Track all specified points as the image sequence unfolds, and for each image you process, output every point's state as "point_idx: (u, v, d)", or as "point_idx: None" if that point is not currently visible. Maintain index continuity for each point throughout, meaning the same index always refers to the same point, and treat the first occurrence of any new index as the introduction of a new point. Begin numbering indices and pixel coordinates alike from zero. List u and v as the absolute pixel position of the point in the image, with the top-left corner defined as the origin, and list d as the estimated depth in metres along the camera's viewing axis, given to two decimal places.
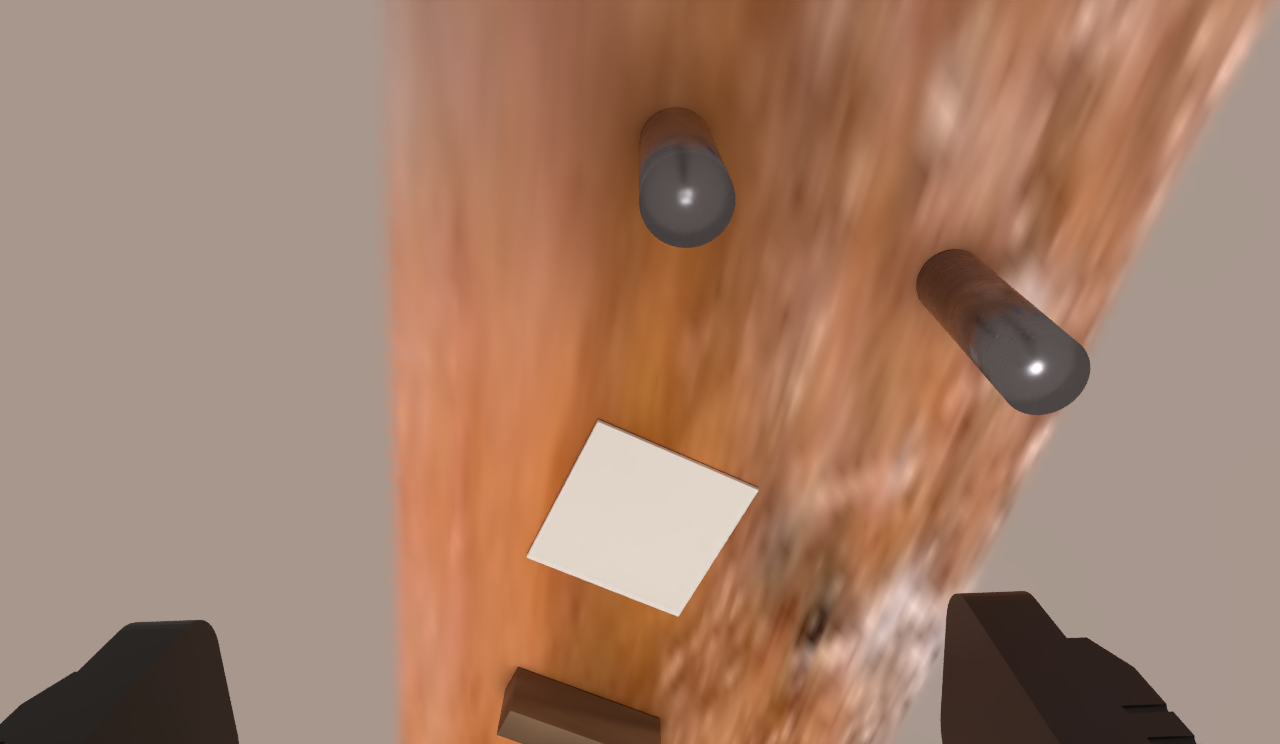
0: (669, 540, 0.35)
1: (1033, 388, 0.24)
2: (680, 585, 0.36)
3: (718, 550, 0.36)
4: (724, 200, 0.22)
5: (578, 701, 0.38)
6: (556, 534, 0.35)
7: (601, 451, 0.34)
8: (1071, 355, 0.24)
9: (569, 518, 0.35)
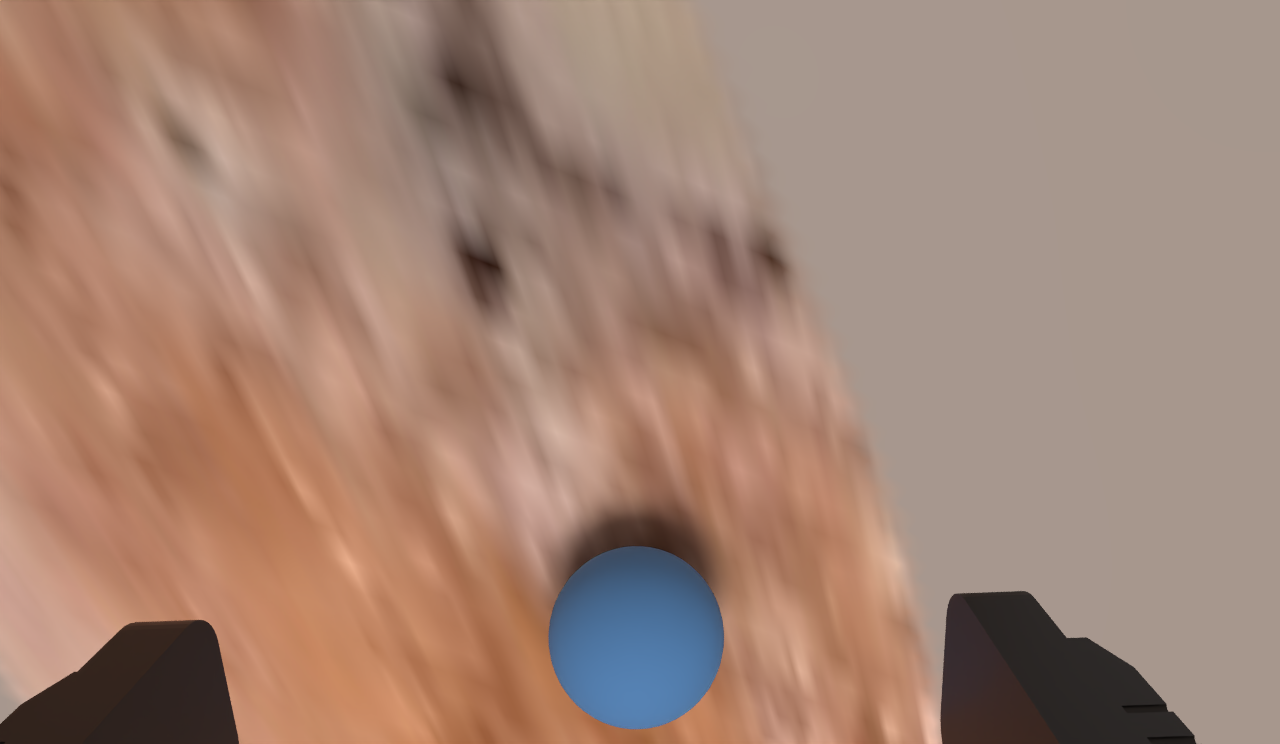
0: None
1: None
2: None
3: None
4: None
5: None
6: None
7: None
8: None
9: None
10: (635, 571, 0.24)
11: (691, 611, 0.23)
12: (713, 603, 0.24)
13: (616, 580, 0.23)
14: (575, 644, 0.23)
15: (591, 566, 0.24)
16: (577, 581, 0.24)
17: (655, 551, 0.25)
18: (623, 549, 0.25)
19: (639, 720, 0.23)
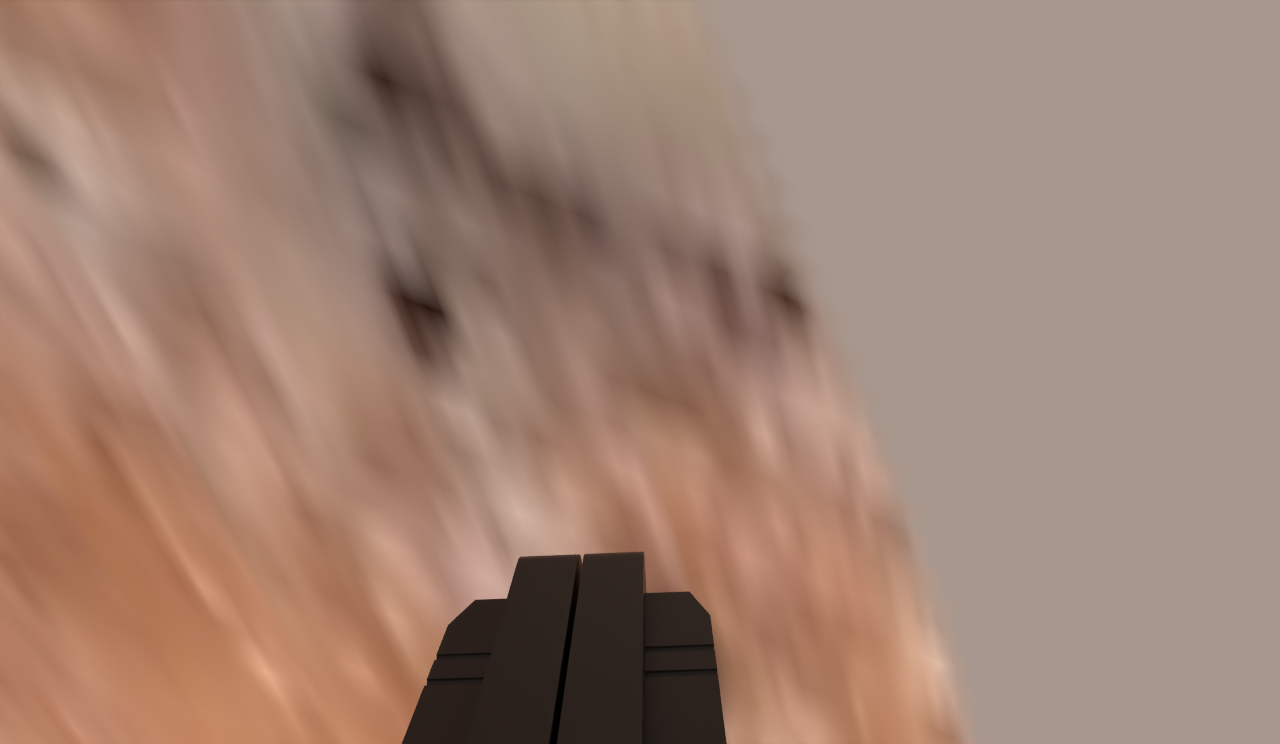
0: None
1: None
2: None
3: None
4: None
5: None
6: None
7: None
8: None
9: None
10: None
11: None
12: None
13: None
14: None
15: None
16: None
17: None
18: None
19: None
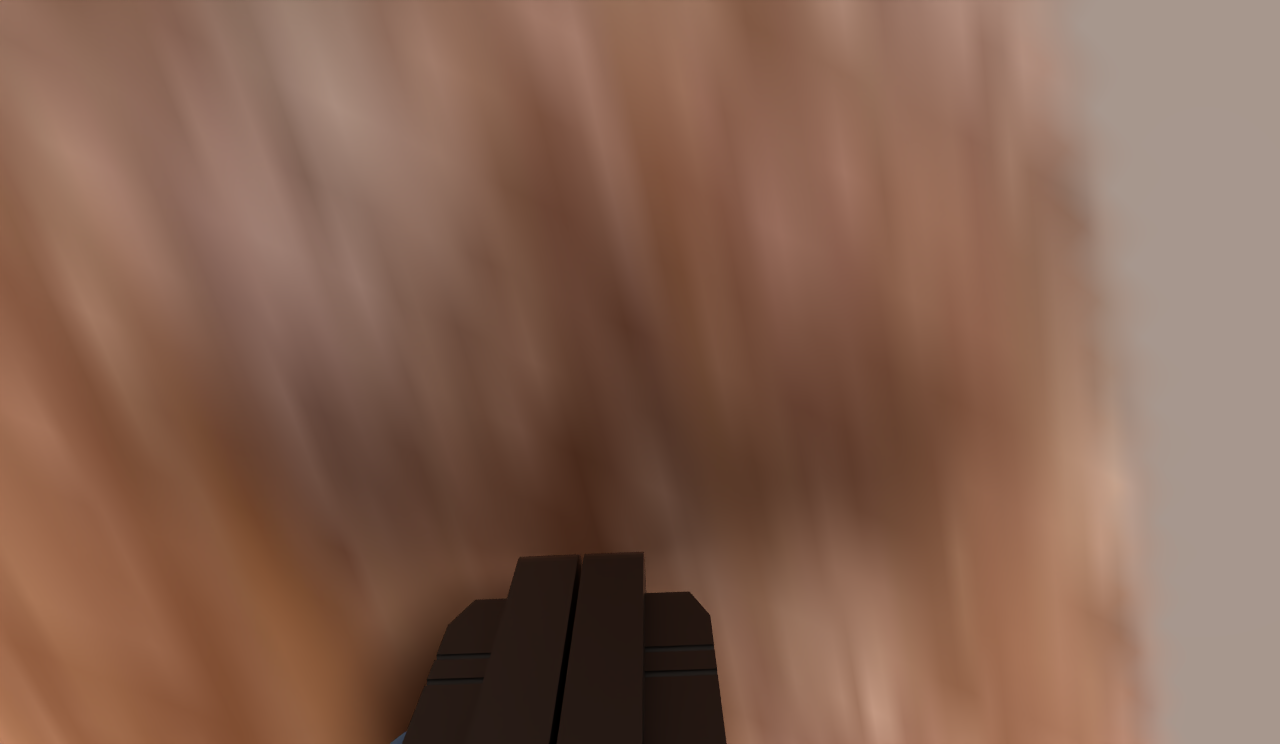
0: None
1: None
2: None
3: None
4: None
5: None
6: None
7: None
8: None
9: None
10: None
11: None
12: None
13: None
14: None
15: None
16: None
17: None
18: None
19: None
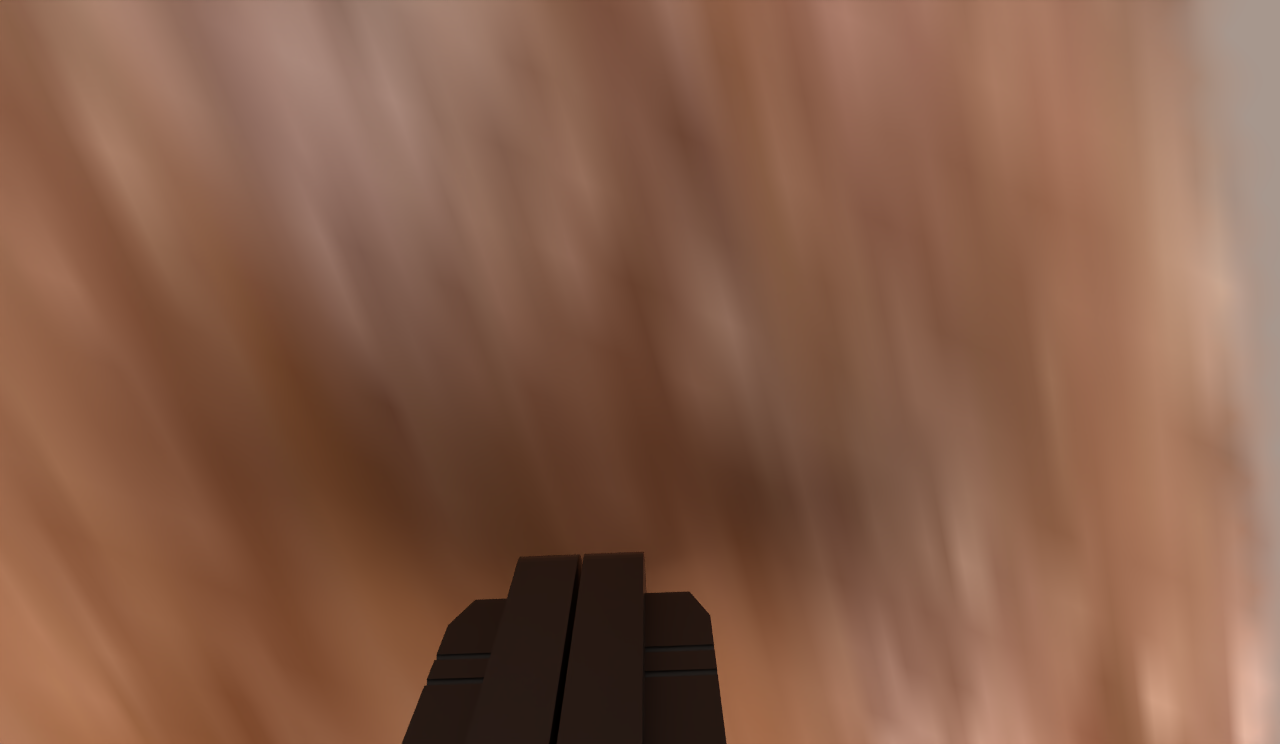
0: None
1: None
2: None
3: None
4: None
5: None
6: None
7: None
8: None
9: None
10: None
11: None
12: None
13: None
14: None
15: None
16: None
17: None
18: None
19: None
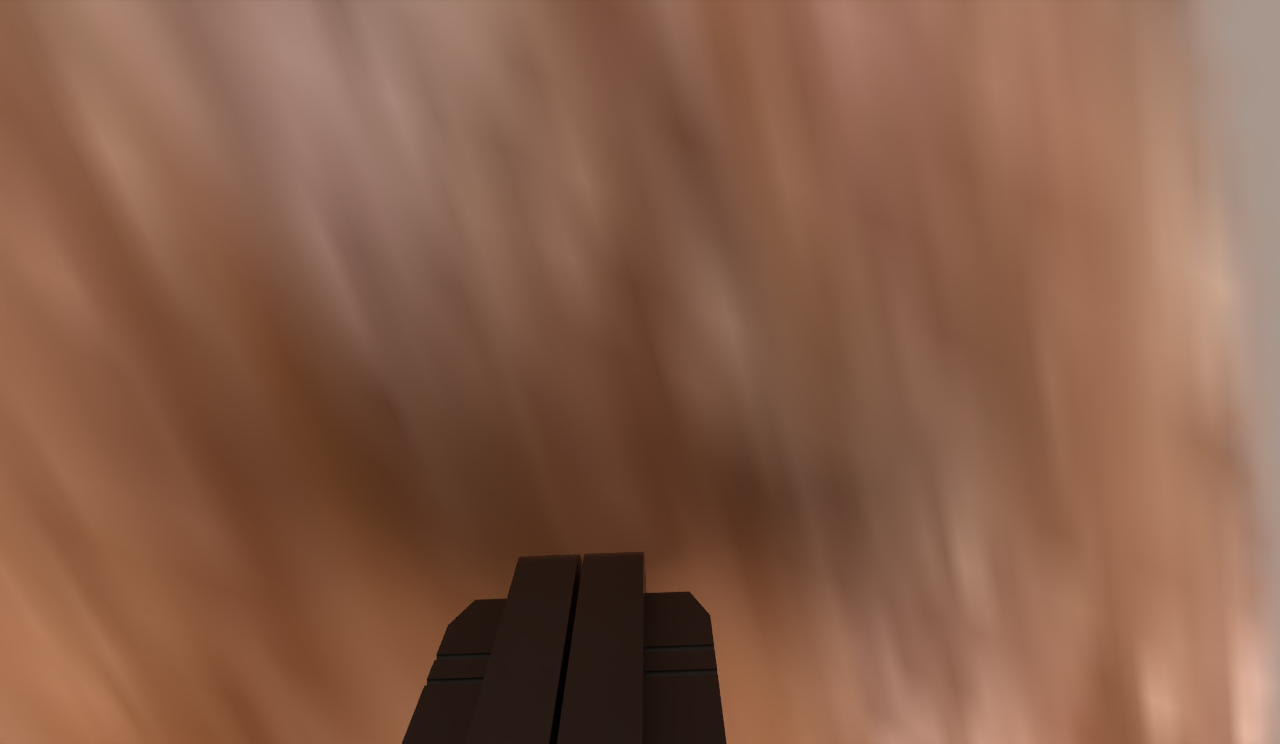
0: None
1: None
2: None
3: None
4: None
5: None
6: None
7: None
8: None
9: None
10: None
11: None
12: None
13: None
14: None
15: None
16: None
17: None
18: None
19: None
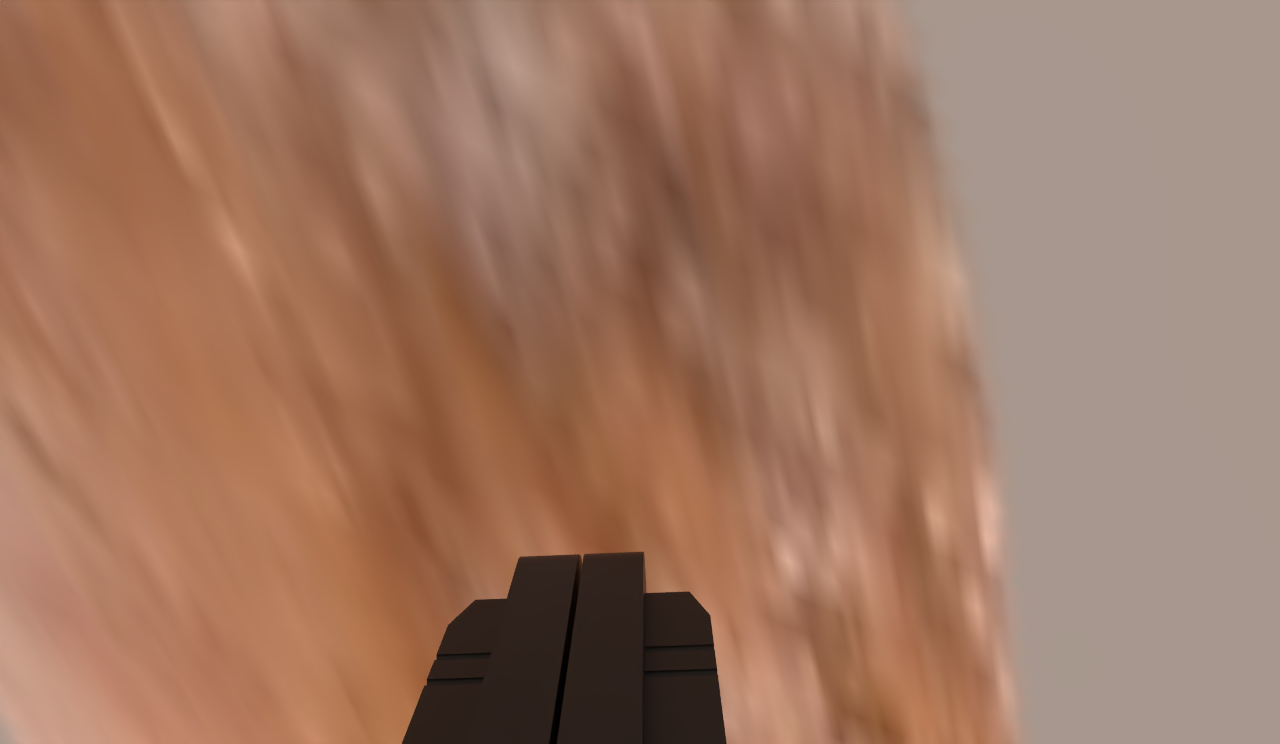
0: None
1: None
2: None
3: None
4: None
5: None
6: None
7: None
8: None
9: None
10: None
11: None
12: None
13: None
14: None
15: None
16: None
17: None
18: None
19: None
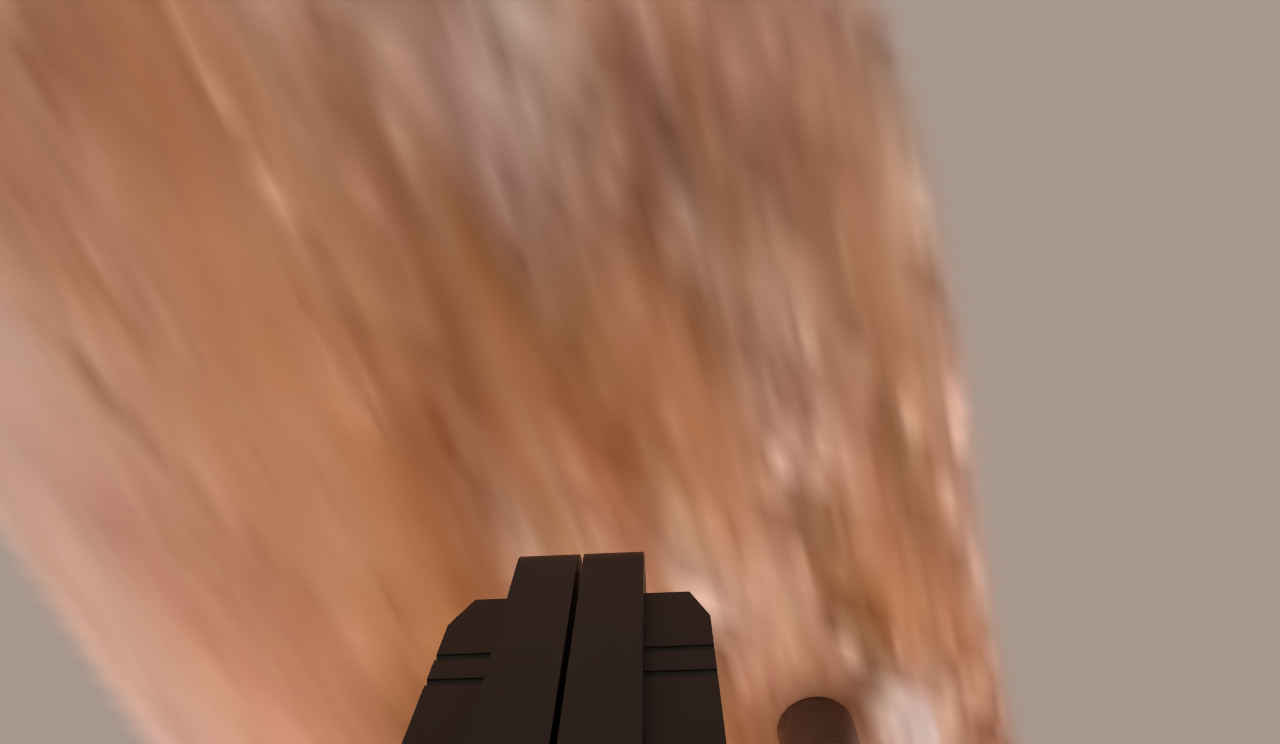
0: None
1: None
2: None
3: None
4: None
5: None
6: None
7: None
8: None
9: None
10: None
11: None
12: None
13: None
14: None
15: None
16: None
17: None
18: None
19: None
